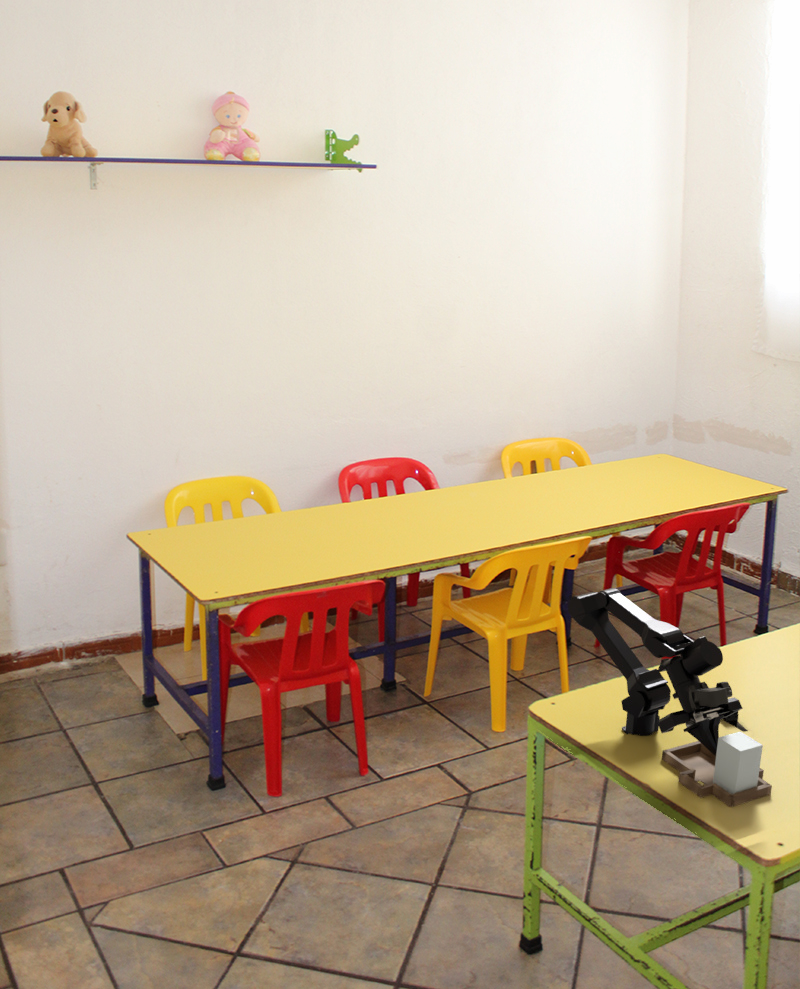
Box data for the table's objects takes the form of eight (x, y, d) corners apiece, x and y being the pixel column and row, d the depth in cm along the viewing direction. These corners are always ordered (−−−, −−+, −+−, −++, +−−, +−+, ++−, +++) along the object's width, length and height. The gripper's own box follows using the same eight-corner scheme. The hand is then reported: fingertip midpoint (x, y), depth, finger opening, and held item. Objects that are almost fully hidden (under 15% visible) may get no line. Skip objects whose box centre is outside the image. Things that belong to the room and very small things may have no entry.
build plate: (754, 736, 226) (757, 718, 224) (725, 738, 224) (728, 720, 223) (726, 710, 237) (728, 693, 236) (698, 713, 236) (700, 696, 234)
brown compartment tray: (650, 766, 210) (651, 753, 209) (709, 750, 218) (711, 737, 217) (718, 816, 193) (720, 801, 192) (780, 796, 200) (782, 782, 200)
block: (712, 785, 201) (718, 737, 199) (734, 779, 204) (740, 731, 201) (734, 800, 196) (740, 751, 193) (756, 793, 199) (762, 745, 196)
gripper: (674, 678, 199) (706, 753, 193) (742, 662, 208) (775, 734, 201) (644, 696, 208) (674, 768, 202) (710, 681, 217) (741, 749, 210)
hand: (717, 754), depth 204 cm, fingers closed
